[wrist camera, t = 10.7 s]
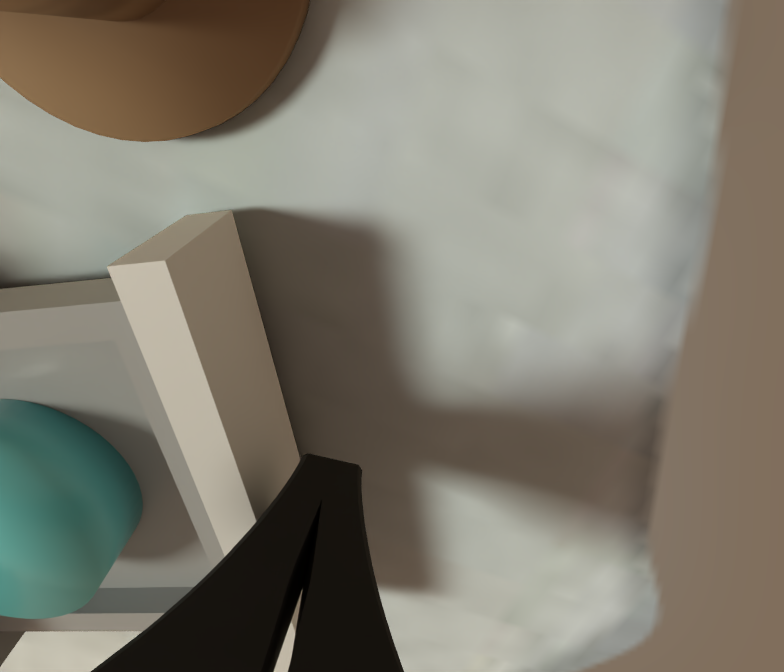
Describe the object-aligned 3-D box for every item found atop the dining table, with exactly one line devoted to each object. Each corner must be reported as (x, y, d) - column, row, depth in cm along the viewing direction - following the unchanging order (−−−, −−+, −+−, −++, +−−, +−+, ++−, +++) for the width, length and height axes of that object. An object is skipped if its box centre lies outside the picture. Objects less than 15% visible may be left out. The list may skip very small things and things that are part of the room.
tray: (-233, 263, 12) (-413, 319, 10) (231, 210, 11) (165, 260, 8) (5, 593, 18) (-69, 685, 15) (335, 588, 16) (315, 691, 14)
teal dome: (-104, 409, 13) (-191, 467, 11) (90, 388, 12) (30, 447, 10) (5, 555, 15) (-51, 622, 13) (172, 546, 14) (136, 615, 13)
